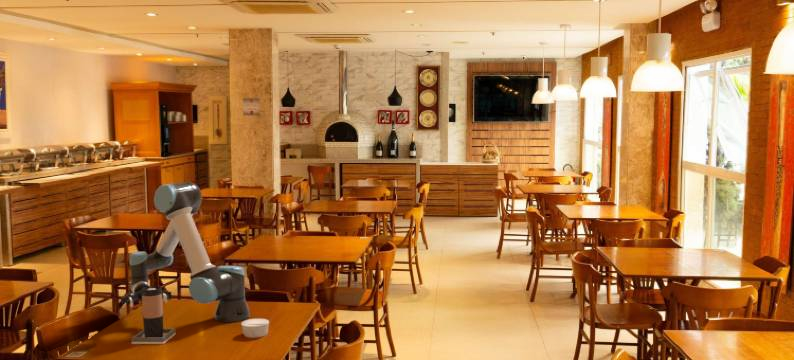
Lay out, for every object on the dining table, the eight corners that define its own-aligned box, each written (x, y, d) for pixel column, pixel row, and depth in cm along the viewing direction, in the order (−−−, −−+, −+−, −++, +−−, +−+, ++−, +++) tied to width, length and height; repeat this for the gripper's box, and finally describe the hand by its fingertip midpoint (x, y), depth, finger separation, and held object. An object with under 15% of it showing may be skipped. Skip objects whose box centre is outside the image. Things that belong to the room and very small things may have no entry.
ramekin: (246, 340, 290) (245, 327, 290) (238, 333, 300) (237, 320, 300) (273, 336, 295) (272, 323, 295) (264, 329, 305) (264, 316, 305)
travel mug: (157, 340, 290) (155, 290, 288) (140, 339, 291) (137, 290, 290) (167, 334, 297) (165, 286, 296) (150, 333, 299) (147, 285, 297)
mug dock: (175, 334, 300) (175, 328, 300) (163, 343, 287) (163, 338, 287) (145, 334, 301) (144, 328, 301) (131, 343, 288) (131, 338, 288)
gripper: (172, 296, 327) (180, 306, 308) (112, 303, 316) (117, 314, 297) (171, 279, 326) (179, 289, 307) (111, 286, 315) (116, 296, 296)
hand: (149, 301), depth 302 cm, fingers open, 13 cm apart
